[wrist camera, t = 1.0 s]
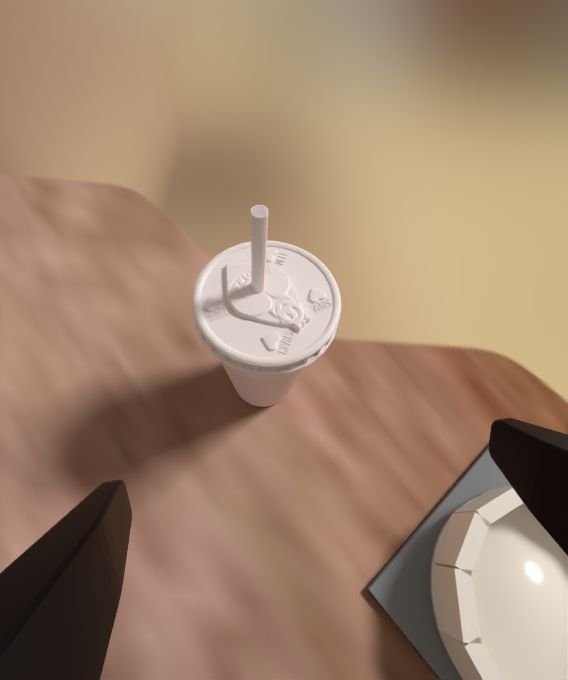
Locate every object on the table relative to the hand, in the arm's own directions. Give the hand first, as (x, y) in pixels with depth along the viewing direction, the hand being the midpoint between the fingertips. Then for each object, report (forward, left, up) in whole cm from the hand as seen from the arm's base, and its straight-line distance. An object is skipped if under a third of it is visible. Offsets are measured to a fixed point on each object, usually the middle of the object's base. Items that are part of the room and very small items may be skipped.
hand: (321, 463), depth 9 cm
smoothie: (+7, +2, -14) cm, 16 cm away
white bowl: (-4, -13, -13) cm, 19 cm away
